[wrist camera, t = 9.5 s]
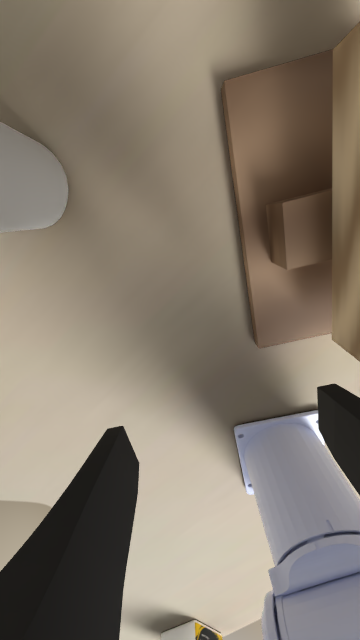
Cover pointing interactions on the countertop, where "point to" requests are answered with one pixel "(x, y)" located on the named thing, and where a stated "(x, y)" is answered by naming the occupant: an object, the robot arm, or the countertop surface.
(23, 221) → the beverage can
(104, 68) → the countertop surface
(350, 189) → the beam
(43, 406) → the countertop surface
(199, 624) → the medicine bottle
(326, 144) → the fulcrum
